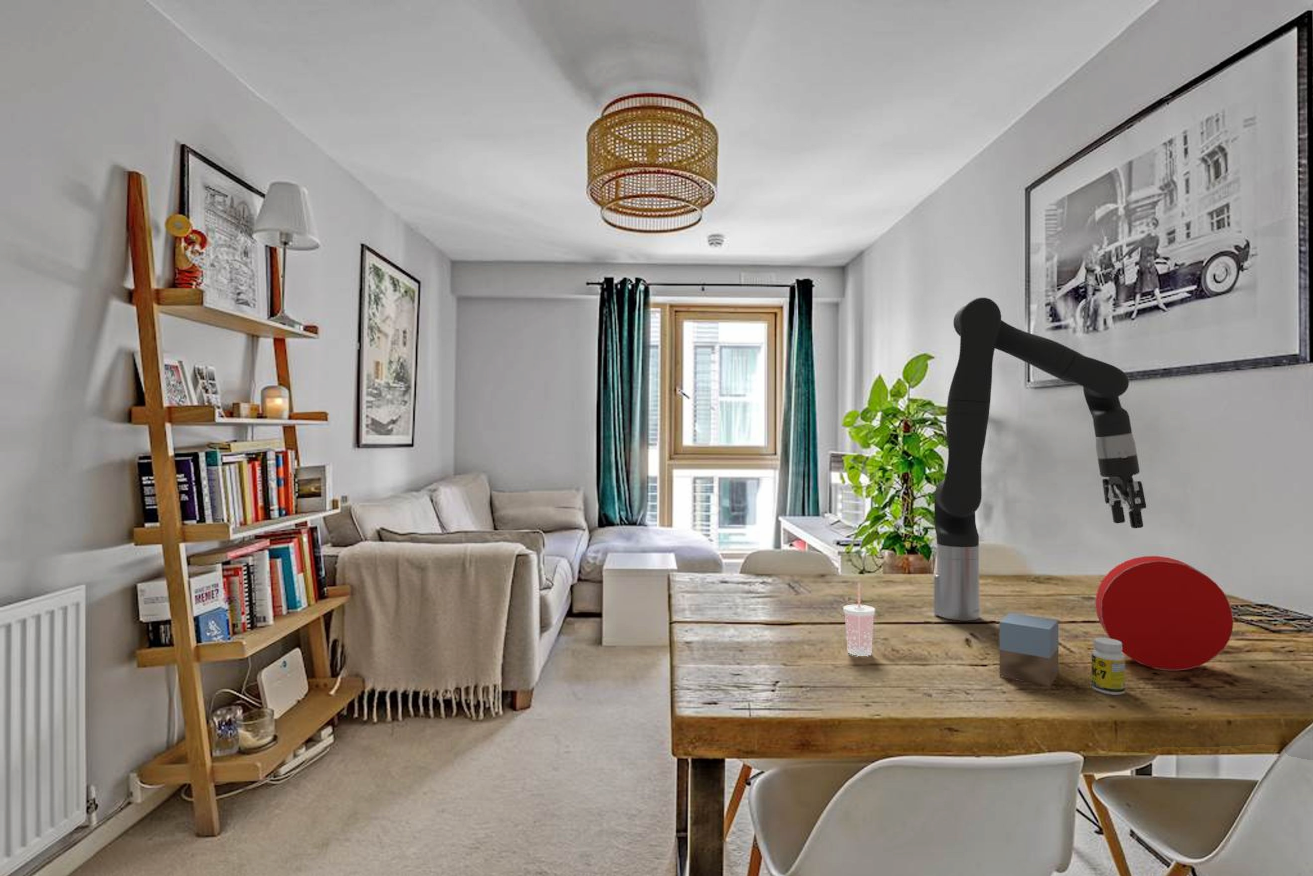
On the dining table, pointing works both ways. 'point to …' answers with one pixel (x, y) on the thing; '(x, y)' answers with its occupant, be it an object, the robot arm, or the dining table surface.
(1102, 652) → the supplement bottle
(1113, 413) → the robot arm
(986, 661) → the dining table surface
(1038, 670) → the tower base block
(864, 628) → the beverage cup
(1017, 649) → the tower top block
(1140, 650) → the red disc
